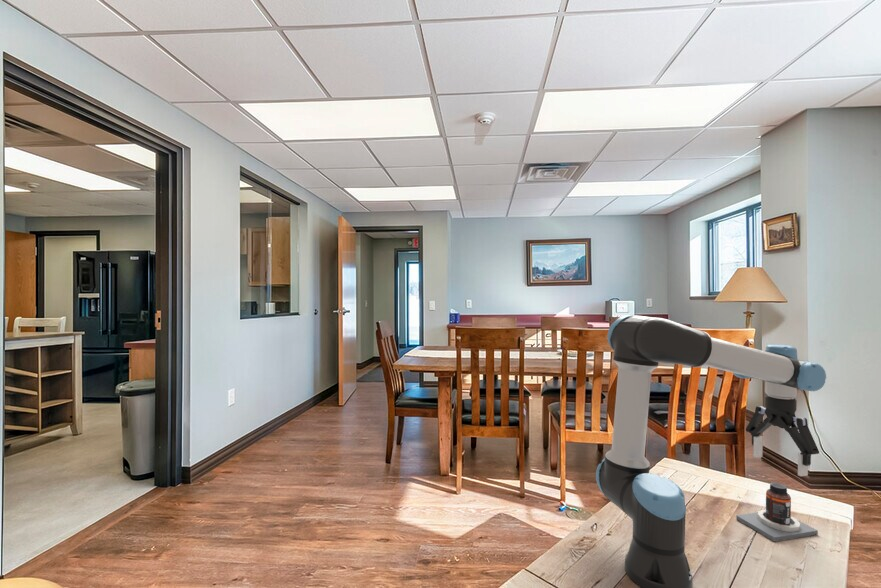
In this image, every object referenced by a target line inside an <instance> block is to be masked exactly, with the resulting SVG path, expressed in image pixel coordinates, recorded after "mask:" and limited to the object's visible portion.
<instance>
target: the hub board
mask: <svg viewBox="0 0 881 588" xmlns="http://www.w3.org/2000/svg"><path fill="white" fill-rule="evenodd" d="M735 518H736V520H737V521H739V522H740V523H743V524H744V525H746V526H747V527H749V528H750V529H752V530H754V531H756V532H758V533H759V534H761V535H762V536H764V537H766V538H768V539H769V540H771V541H772V542H774V543H775V542H781V541H786V540H793V539H798V538H805V537H810V536H816V535H815V534H818V535H819V531H818V529H815V528H813V527H812V526H811V525H810V526H809V525H808V524H806V523H804V522H802V521H800V520H798V519H797V518H795V517H793V516H791V522H790V525H789V526H788V525H781V524H778V523H774V522H772V521H770V520H768V519H766V509H761V510H758V512H757V511H756V512H750V513H743V514H737V515H736V517H735Z"/></svg>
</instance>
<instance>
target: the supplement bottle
mask: <svg viewBox="0 0 881 588" xmlns="http://www.w3.org/2000/svg"><path fill="white" fill-rule="evenodd" d="M791 504H792V497H791V495H790V494H789V493H788V487H787V486H786V485H784V484H782V483H777V482H770V484H769V489H766V492H765V510H766V519H768V520H770V521H772V522H774V523H778V524H781V525H788V526H789V525H790V522H791V517H792V514H791V511H792V505H791Z"/></svg>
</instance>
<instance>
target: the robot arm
mask: <svg viewBox="0 0 881 588" xmlns="http://www.w3.org/2000/svg"><path fill="white" fill-rule="evenodd" d="M607 343H608V345H609V346H610V348H611V349H612V351H613V362H614V363H615V365H616V366H617V367H618V368H617V370H618V371H617V379H616V380H617V382H616V391H615V392H616V393H615V404H614V415H613V417H614V418H613V427H612V428H613V429H612V439H611V449H610V450H608V451H607V452H606V453H605V455H604V458H603V459H602V460H601V463H599V464H598V465H597V468H596V471H595V480H596V481H595V482H596V484H597V487H598V489H599V490H600V492H601V493H602V495H604V497H605V498H606V499H608V500H609V501H610V502H611V503H613V504H614V505H615V506H616V507H617V508H618V509H620V510H621V511H622V512H623V513H624V514H625V515H626V516H628V517H629V518H631V520H632V538H631V542H630V545H629V549H628V551H627V552H626V554H625V558H624V569H625V572H626V575H627V576H628V577H629V579H631V580H632V582H634V583H635V584H636V585H638V586H639V587H641V588H693V573H692V570H691V567H690V565H689V564H690V563H689V562H688V558H687V555H686V551H685V547H686V546H685V544H686V543H685V540H686V511H687V506H686V498H685V494H684V492H683V490H682V488H681V487H680V486H679V484H677V483H676V482H674V481H673V480H671V479H670V478H668V477H665V476H660V475H659V474H655V473H650V468H651V467H650V466H651V463H650V461H649V460H648V459H647V458H646V457H645V455H646V453H645V452H646V441H647V431H648V430H647V429H648V419H649V417H648V416H649V408H650V407H649V405H650V394H651V385H652V384H651V381H652V372H653V371H654V370H655V369H657V368H658V367H659V364H660V363H664V364H672V365H680V366H687V367H690V368H691V367H692V368H700V367H704V366H705V367H706V368H707V367H708V368H712V369H716V370H720V371H725V372H728V373H732V374H733V375H734V376H735V377H736V378H739V379H747V380H749V379H756V380H760V381H764V393H765V395H764V405H761V406H759V405H757V406H755V410H754V414H753V415H752V417H751V419H750V420H749V422H748V424H747V426H746V428H745V432H746V433H750V435H751V445H752V446H753V447H752V448H753V454H752V456H753V458H755V459H756V458H763V450H764V449H763V448H764V447H763V446H764V445H763V442H764V438H763V437H764V436H763V435H762V434H763V433H764V432H765V431H766V430H768V429H769V428H770V427H772V426H774V427H779V428H780V429H784V431H785V432H787V433H788V435H790V437H791V439H792V441H793V442H794V443H795V445H796V447H797V448H798V450H799V451H800V452H798V453H797V476H799V477H806V476H808V475H809V467H810V466H811V463H812V461H811V460H812V455H819V454H820V450H819V448H818V446H817V443H816V442H815V438H814V437H813V434H812V432H811V429H810V428H809V425H808V424H809V423H808V419H807V417H796V412H797V408H798V407H797V404H798V403H797V402H798V401H797V399H796V398H797V396H798V394H797V393H798V390H801V391H807V392H817V391H820V390H821V389H822V388H823V387H824V386H825V383H826V379H827V373H826V370H825V368H824V367H823V366H822V365H821V364H818V363H816V362H810V361H809V360H801V359H798V350H797V348H796V347H795V346H793V345H787V344H767V345H766V347H765V350H760V349H757V348H754V347H751V346H745V345H742V344H738V343H734V342H732V341H731V342H730V341H726V340H723V339H719V338H717V337H716V338H715V337H711V336H710V334H709V333H708V332H706V331H704V330H700V329H697V328H694V327H690V326H688V325H685V324H682V323H679V322H676V321H673V320H670V319H667V318H663V317H654V316H653V317H652V316H645V315H644V316H643V315H638V314H632V315H629V314H627V315H623V316H620V317H618V318H617V319H615V321H613V322H612V323H611V325H610V326H609V328H608V330H607ZM797 389H798V390H797ZM764 415H766V418H764ZM763 418H764V419H763ZM762 419H763V420H762ZM761 421H762V422H761Z"/></svg>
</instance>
